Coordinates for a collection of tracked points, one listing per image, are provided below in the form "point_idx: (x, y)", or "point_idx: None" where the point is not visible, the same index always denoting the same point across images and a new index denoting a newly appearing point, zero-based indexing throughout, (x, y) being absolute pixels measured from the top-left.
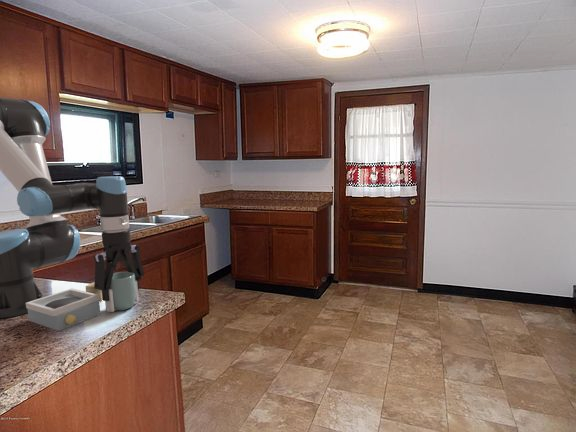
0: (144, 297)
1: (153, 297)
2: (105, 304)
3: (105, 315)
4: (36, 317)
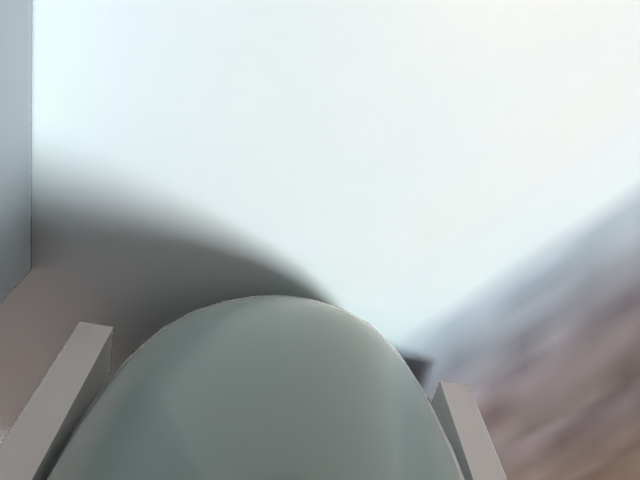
0: (620, 389)
1: (619, 468)
2: (46, 373)
3: (33, 345)
4: None
